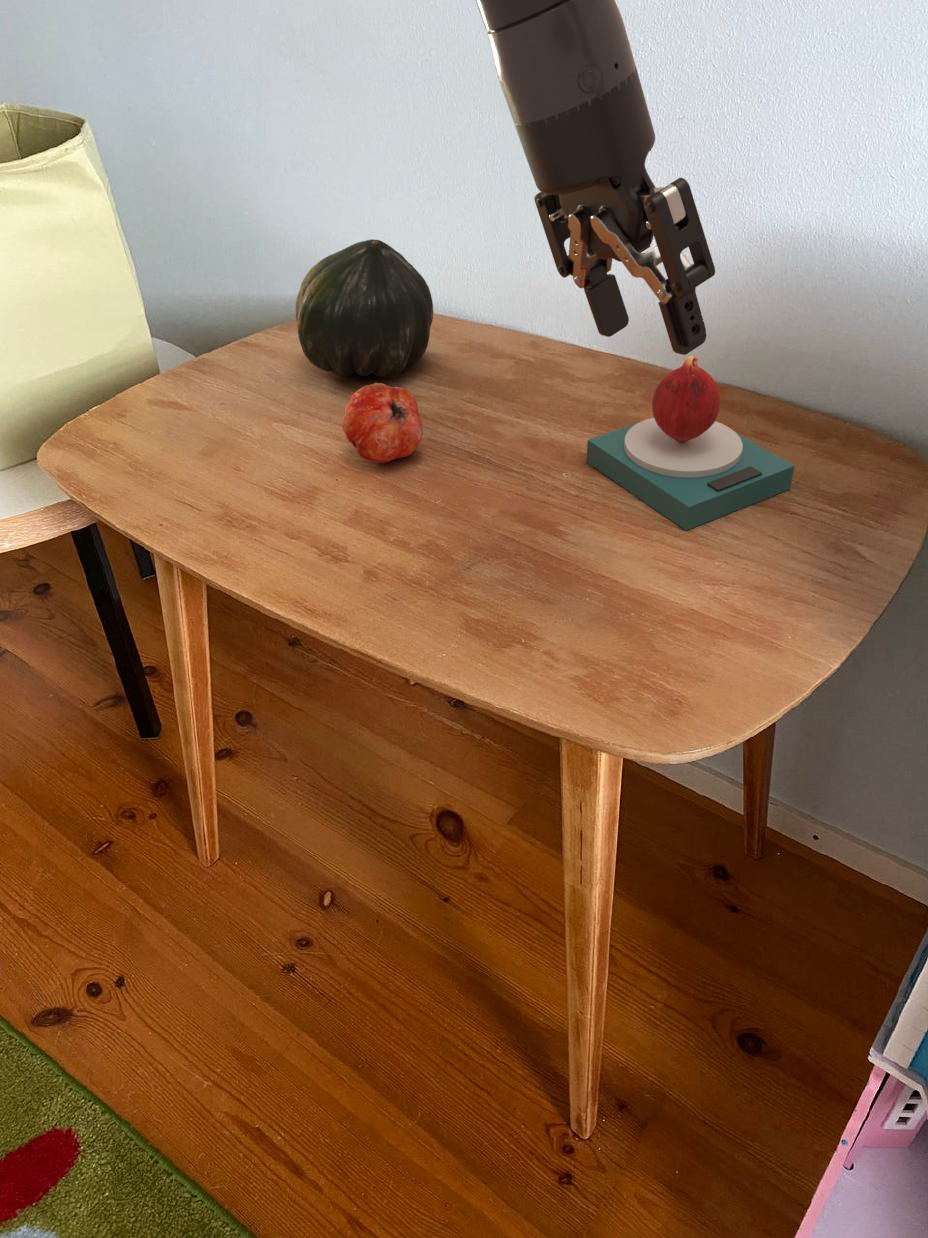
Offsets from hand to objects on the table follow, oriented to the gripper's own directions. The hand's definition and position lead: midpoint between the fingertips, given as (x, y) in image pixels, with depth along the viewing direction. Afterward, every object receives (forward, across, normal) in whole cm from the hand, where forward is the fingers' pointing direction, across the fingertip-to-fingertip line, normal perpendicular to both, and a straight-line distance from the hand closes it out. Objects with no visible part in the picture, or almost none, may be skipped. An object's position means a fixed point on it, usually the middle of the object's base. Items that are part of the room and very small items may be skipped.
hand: (651, 338), depth 66 cm
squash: (+8, +50, +5) cm, 51 cm away
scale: (+20, +14, -7) cm, 26 cm away
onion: (+17, +14, -8) cm, 24 cm away
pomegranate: (+10, +31, +13) cm, 35 cm away
